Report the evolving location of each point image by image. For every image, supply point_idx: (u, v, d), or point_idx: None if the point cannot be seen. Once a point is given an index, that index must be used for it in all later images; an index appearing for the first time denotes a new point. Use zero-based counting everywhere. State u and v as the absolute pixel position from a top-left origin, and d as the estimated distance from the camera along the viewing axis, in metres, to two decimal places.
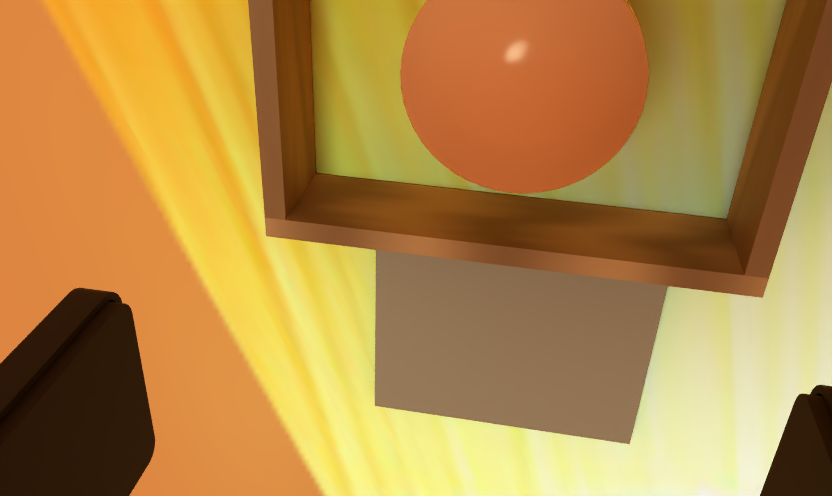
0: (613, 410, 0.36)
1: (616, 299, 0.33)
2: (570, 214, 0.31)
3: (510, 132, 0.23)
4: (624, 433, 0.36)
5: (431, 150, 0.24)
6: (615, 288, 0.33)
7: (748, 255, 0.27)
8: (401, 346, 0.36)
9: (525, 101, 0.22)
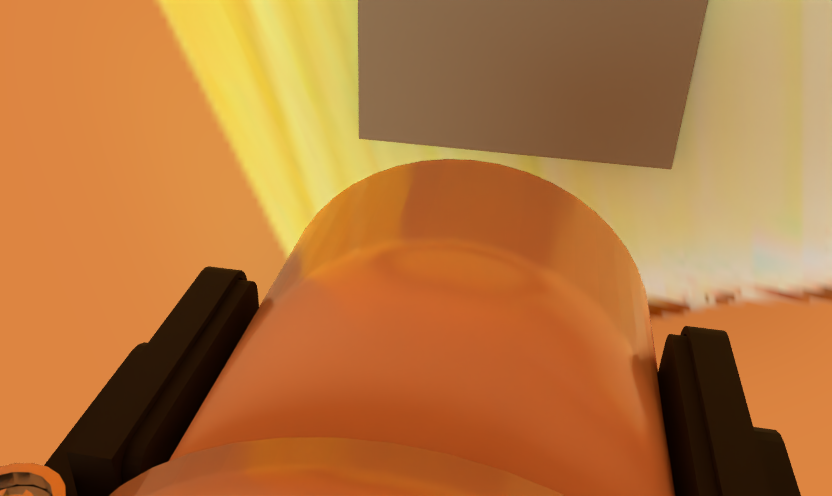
0: (652, 119, 0.29)
1: None
2: None
3: None
4: (665, 154, 0.30)
5: None
6: None
7: None
8: (390, 44, 0.29)
9: None
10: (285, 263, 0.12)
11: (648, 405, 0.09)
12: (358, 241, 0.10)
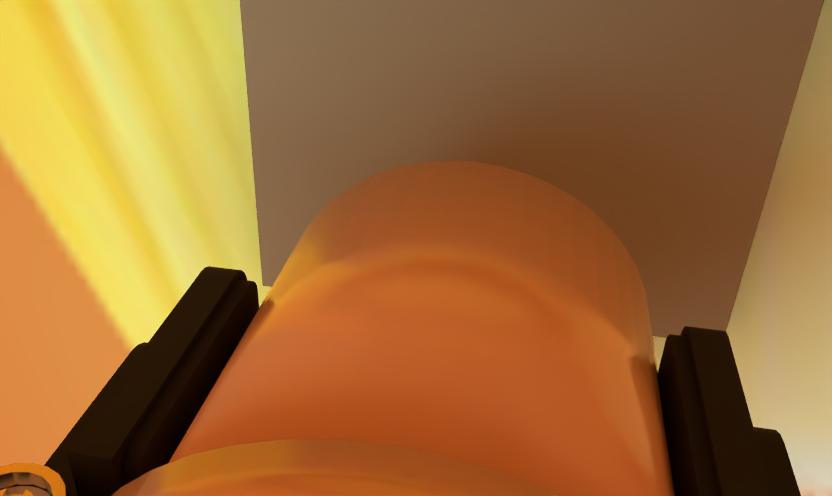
0: (695, 277, 0.19)
1: (718, 27, 0.16)
2: None
3: None
4: (713, 325, 0.20)
5: None
6: None
7: None
8: (300, 160, 0.19)
9: None
10: (285, 264, 0.12)
11: (648, 406, 0.09)
12: (358, 242, 0.10)
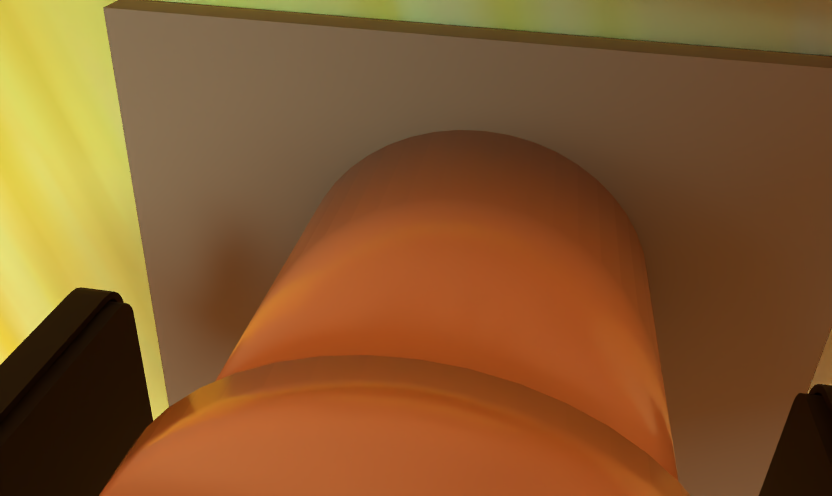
0: (724, 445, 0.15)
1: (763, 141, 0.12)
2: None
3: None
4: None
5: None
6: (762, 104, 0.11)
7: None
8: (211, 291, 0.15)
9: None
10: (306, 227, 0.12)
11: (646, 349, 0.10)
12: (377, 201, 0.11)
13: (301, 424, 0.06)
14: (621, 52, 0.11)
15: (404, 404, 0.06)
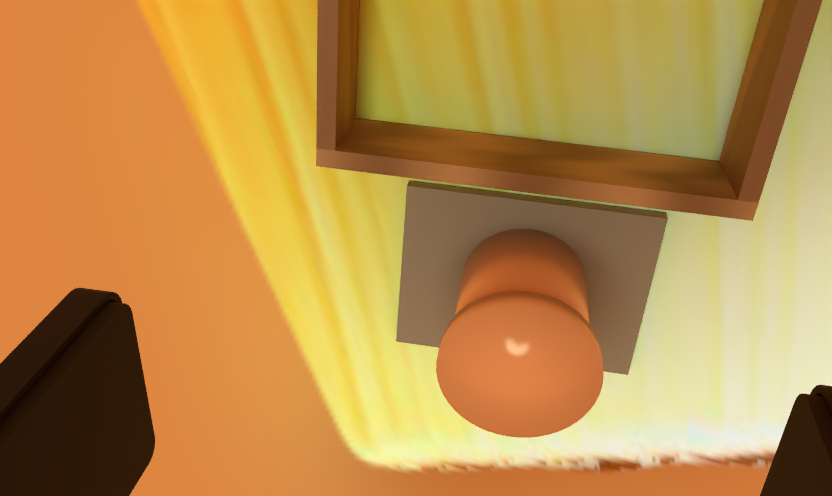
0: (614, 342, 0.40)
1: (621, 235, 0.37)
2: (584, 154, 0.35)
3: (510, 401, 0.33)
4: (623, 364, 0.40)
5: (455, 408, 0.34)
6: (620, 224, 0.37)
7: (741, 182, 0.32)
8: (425, 282, 0.40)
9: (521, 384, 0.33)
10: (472, 260, 0.37)
11: (582, 297, 0.35)
12: (503, 253, 0.36)
13: (509, 302, 0.31)
14: (577, 207, 0.37)
15: (529, 299, 0.31)
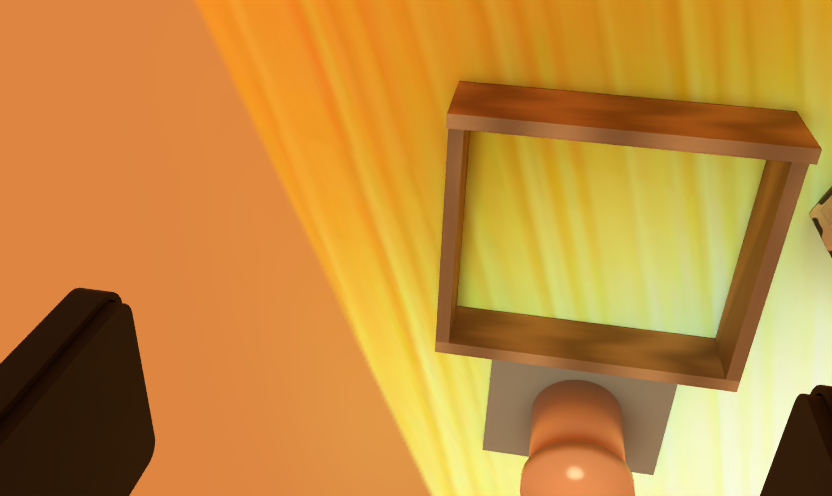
0: (642, 453, 0.55)
1: (646, 385, 0.52)
2: (619, 336, 0.50)
3: None
4: (650, 468, 0.56)
5: None
6: None
7: (728, 368, 0.47)
8: (504, 412, 0.55)
9: None
10: (540, 402, 0.53)
11: (619, 435, 0.50)
12: (563, 402, 0.51)
13: (570, 451, 0.47)
14: None
15: (584, 449, 0.47)
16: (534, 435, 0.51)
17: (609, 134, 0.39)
